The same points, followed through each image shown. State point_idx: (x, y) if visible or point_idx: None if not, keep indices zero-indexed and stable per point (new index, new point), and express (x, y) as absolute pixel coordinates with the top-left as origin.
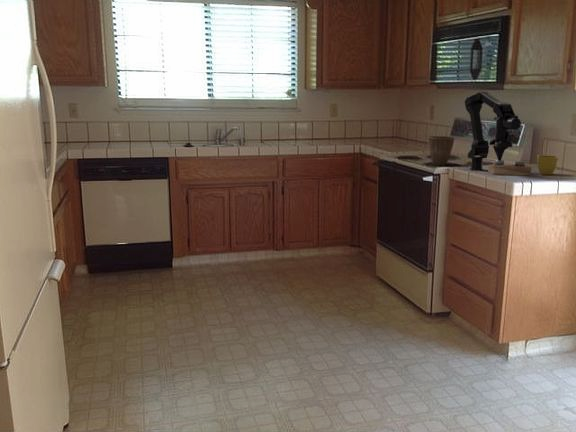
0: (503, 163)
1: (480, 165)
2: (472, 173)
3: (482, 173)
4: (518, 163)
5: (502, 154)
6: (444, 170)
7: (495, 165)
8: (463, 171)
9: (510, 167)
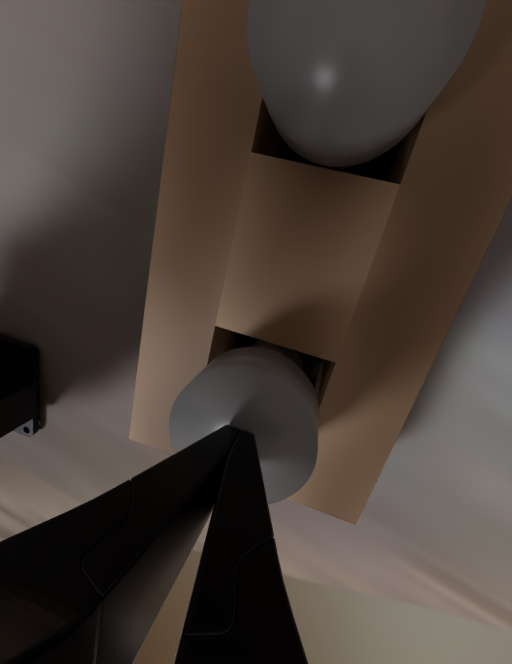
0: (310, 389)
1: (4, 401)
2: None
3: None
4: (415, 122)
5: (268, 537)
6: None
7: None
8: None
9: (442, 332)
